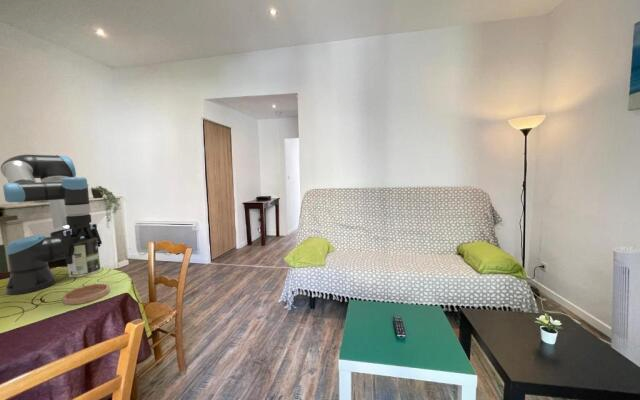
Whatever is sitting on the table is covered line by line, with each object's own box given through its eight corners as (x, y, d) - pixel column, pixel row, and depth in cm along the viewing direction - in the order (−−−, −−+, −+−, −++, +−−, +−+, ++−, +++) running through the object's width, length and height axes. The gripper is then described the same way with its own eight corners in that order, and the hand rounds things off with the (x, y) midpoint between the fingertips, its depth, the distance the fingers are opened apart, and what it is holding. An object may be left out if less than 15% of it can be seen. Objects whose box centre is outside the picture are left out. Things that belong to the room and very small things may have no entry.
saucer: (70, 292, 112) (70, 288, 112) (112, 285, 119) (112, 281, 119) (57, 308, 100) (56, 303, 99) (105, 299, 107) (104, 294, 106)
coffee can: (98, 266, 115) (94, 235, 114) (103, 271, 109) (99, 239, 107) (66, 273, 108) (62, 240, 106) (69, 279, 101) (65, 245, 99)
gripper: (92, 210, 117) (97, 257, 119) (40, 219, 94) (47, 277, 97) (109, 210, 117) (113, 257, 119) (61, 219, 94) (68, 276, 97)
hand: (84, 266), depth 108 cm, fingers closed on coffee can, 10 cm apart
